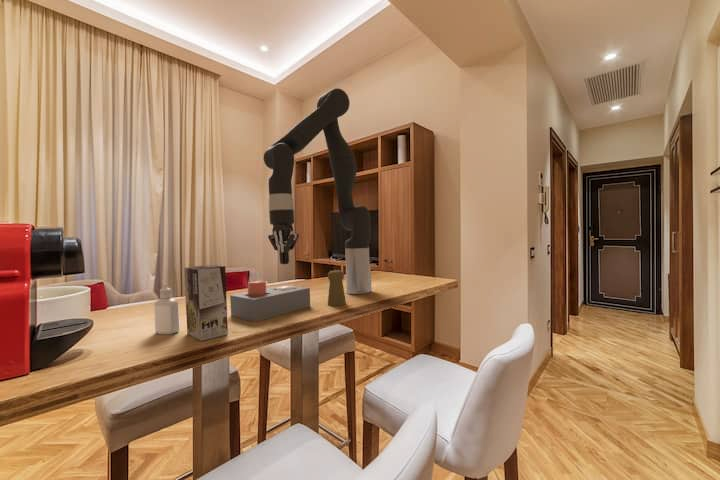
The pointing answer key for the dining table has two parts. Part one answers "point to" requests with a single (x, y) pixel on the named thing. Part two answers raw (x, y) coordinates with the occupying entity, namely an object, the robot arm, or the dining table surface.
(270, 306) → the console
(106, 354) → the dining table surface
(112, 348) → the dining table surface
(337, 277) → the cork
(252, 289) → the red plunger
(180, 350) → the dining table surface
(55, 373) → the dining table surface
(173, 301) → the eye dropper bottle
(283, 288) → the white rounded block
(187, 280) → the coffee box
